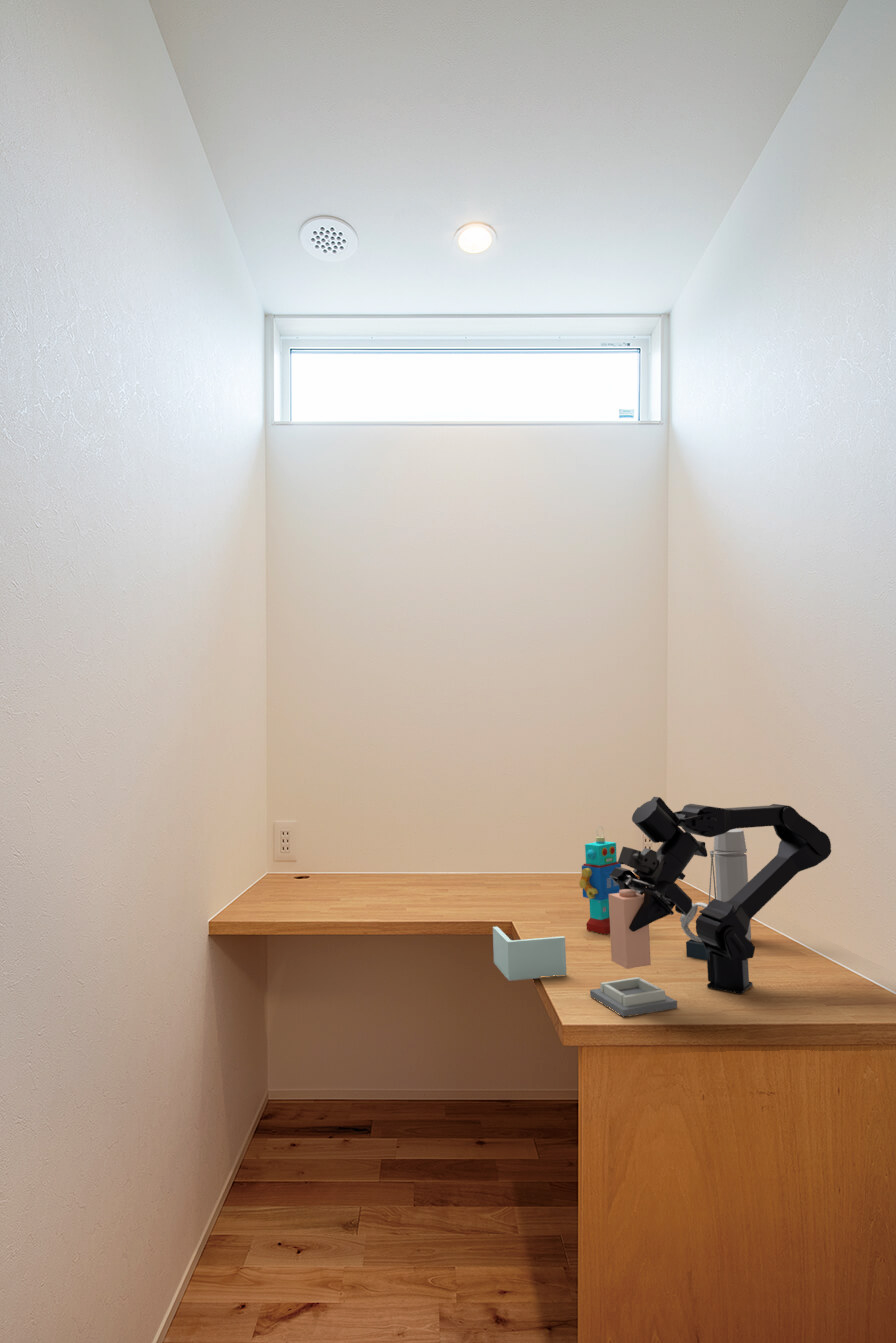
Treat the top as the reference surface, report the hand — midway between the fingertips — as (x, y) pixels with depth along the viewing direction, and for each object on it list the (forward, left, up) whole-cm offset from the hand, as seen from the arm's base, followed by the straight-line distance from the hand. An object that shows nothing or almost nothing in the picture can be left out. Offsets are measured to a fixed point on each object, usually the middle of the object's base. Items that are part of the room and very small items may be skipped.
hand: (622, 926), depth 136 cm
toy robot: (+27, -42, -14) cm, 52 cm away
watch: (0, -35, -14) cm, 38 cm away
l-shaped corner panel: (+25, -6, -14) cm, 29 cm away
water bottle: (-1, -50, -14) cm, 52 cm away
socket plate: (-1, -1, -13) cm, 14 cm away
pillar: (-1, -1, -7) cm, 7 cm away
